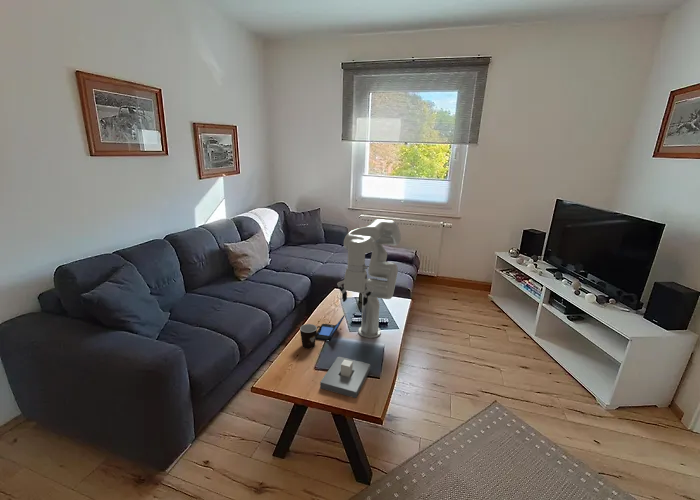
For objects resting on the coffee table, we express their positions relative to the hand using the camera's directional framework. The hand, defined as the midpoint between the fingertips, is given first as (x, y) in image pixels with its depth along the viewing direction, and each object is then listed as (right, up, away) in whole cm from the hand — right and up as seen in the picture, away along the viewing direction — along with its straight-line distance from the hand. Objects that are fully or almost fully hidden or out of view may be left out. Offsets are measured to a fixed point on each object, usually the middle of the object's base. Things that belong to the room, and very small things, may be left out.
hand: (354, 302), depth 152 cm
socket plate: (-4, -33, -5) cm, 33 cm away
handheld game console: (-13, -23, +32) cm, 41 cm away
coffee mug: (-22, -25, +20) cm, 39 cm away
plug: (-4, -33, -5) cm, 33 cm away
